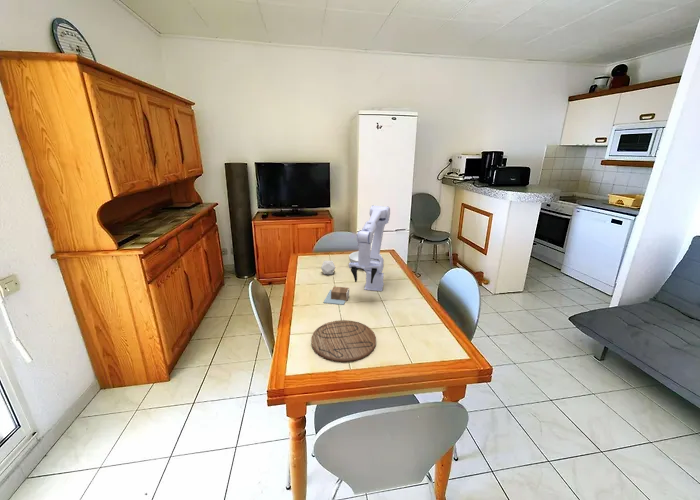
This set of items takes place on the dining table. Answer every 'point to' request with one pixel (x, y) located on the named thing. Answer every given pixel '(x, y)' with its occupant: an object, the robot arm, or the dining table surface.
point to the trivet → (343, 341)
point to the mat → (333, 300)
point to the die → (328, 267)
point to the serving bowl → (356, 257)
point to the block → (340, 293)
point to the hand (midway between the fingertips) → (363, 281)
